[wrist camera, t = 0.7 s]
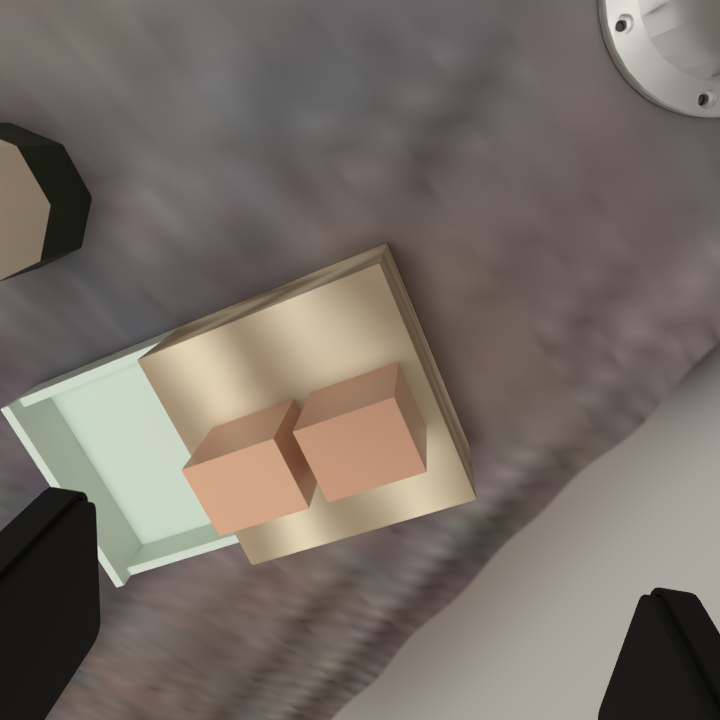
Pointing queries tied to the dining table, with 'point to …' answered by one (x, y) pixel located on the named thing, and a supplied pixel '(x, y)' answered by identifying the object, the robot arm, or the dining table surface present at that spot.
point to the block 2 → (363, 433)
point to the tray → (118, 461)
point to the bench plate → (315, 388)
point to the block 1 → (251, 470)
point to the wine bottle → (37, 202)
